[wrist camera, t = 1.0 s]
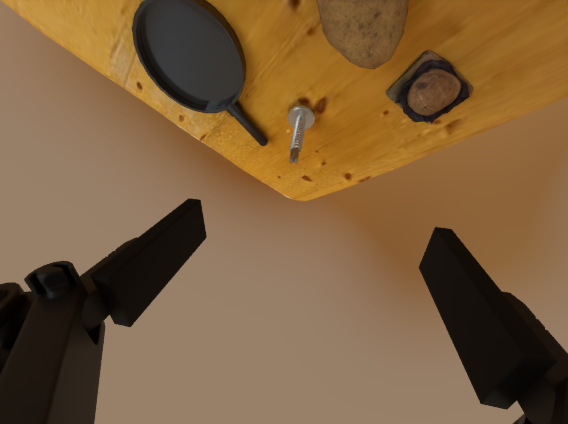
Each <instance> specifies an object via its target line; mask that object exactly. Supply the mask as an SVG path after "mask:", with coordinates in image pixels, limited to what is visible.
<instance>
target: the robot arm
mask: <svg viewBox="0 0 568 424" xmlns="http://www.w3.org/2000/svg"><path fill="white" fill-rule="evenodd" d="M205 239H206V231H205V224H204V219H203V213H202V206H201V200H197V199H188V200H186V201H185V202H184V203H183V204H181V205H180V206H179V207H177V208H176V209H175V210H173V211H172V212H171V213H169V214H168V215H167V216H166V217H164V218H163V219H162V220H160V221H159V222H158V223H157V224H155V225H154V226H153V227H151V228H150V229H149V230H147V231H146V232H145V233H144V234H142V235H141V236H140V237H138V238H134V239H132V240H130V241H127V242H125V243H124V244H123V245H121V246H120V247H118V248H117V249H116V251H113V252H112V253H110V254H109V255H108V257H105V258H104V259H102V260H101V261H100V262H98V263H97V264H96V265H95V266H93V267H92V268H90V269H89V270H88V271H87V272H85V273H84V274H82V275H81V276H80V277H79V275H78V273H77V271H76V269H75V268H74V266H73V264H72V263H71V262H69V261H59V262H53V263H50V264H47V265H44V266H42V267H40V268H38V269H36V270H34V271H33V272H31V273H30V274H28V276H27V277H26V278H25V279H24V280H25V282H26V283H27V285H28V286H29V288H30V289H31V292H24V291H23V289H22V288H21V287H20V285H19V284H17V283H4V284H0V424H94V420H95V412H96V403H97V394H98V385H99V377H100V369H101V360H102V351H103V343H104V333H105V323H104V320H105V319H106V318H107V316H108V315H110V316H111V318H112V320H113V322H114V324H118V325H123V326H127V327H131V326H132V325H133V323H134V322H135V321H136V320H137V319H138V318H139V316H140V315H141V314H142V313H143V312H144V311H145V309H146V308H147V307H148V306H149V305H150V303H151V302H152V301H153V300H154V299H155V298H156V296H157V295H158V294H159V293H160V292H161V290H162V289H163V288H164V287H165V286H166V285H167V283H168V282H169V281H170V280H171V278H173V276H174V275H175V274H176V273H177V272H178V270H179V269H180V268H181V267H182V266H183V265H184V263H185V262H186V261H187V260H188V259H189V257H190V256H191V255H192V254H193V253H194V252H195V250H196V249H197V248H198V247H199V246H200V244H201V243H202V242H203V241H204V240H205ZM419 269H420V271H421V274H422V275H423V278H424V280H425V282H426V285H427V287H428V289H429V291H430V293H431V295H432V298H433V300H434V302H435V304H436V307H437V309H438V311H439V313H440V315H441V317H442V320H443V322H444V324H445V326H446V329H447V331H448V333H449V335H450V337H451V339H452V342H453V344H454V346H455V348H456V350H457V352H458V355H459V357H460V359H461V361H462V364H463V366H464V368H465V370H466V372H467V375H468V377H469V379H470V381H471V383H472V385H473V388H474V390H475V392H476V394H477V397H478V399H479V401H480V403H481V404H484V405H489V406H493V407H498V408H502V409H508V408H509V407H510V406H511V405H512V404H513V403H514V402H516V401H518V403H519V405H520V406H521V408H522V410H523V411H524V414H523V415H522V416H521V417H520V418H519V419H518V420H516V421H515V422H514V423H513V424H568V353H567V352H566V351H565V350H564V349H563V348H562V347H561V345H560V344H559V343H558V342H557V341H556V340H555V339H554V337H553V336H552V335H551V334H550V333H549V332H548V330H545V327H544V326H543V325H542V323H541V322H540V321H539V320H538V319H536V317H535V315H534V314H533V313H532V312H531V311H530V309H529V308H528V307H527V306H526V305H525V304H524V303H523V302H521V301H520V300H519V299H517V298H516V297H515V296H513V295H512V294H511V293H508V292H501V290H500V289H499V288H498V287H497V285H496V284H495V283H494V282H493V280H492V279H491V278H490V277H489V275H488V274H487V273H486V272H485V270H484V269H483V268H482V267H481V265H480V264H479V263H478V262H477V260H476V259H475V258H474V257H473V256H472V254H471V253H470V252H469V251H468V249H467V248H466V247H465V246H464V244H463V243H462V242H461V241H460V239H459V238H458V237H457V236H456V234H455V233H454V232H453V231H452V229H447V228H438V227H435V229H434V231H433V234H432V236H431V239H430V241H429V244H428V246H427V249H426V251H425V253H424V256H423V258H422V261H421V263H420V266H419Z"/></svg>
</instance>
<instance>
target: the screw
mask: <svg viewBox="0 0 568 424" xmlns="http://www.w3.org/2000/svg"><path fill="white" fill-rule="evenodd" d="M314 120H315V115H314V113H313V111H312V110H311V109H310V108H309V107H307V106H303V105H298V106H295V107H293V108H292V109H291V110H290V111H289V114H288V121H289V123H290V125H291V126H292V127H294V130H293V136H292V141H291V146H290V152H291V154H290V159H289V161H290V162H291V163H296V162H297V161H298V156H299V152H300V151H301V148H302V141H303V136H304V130H305V129H308V128H310V127H311V126H312V125H313V123H314Z"/></svg>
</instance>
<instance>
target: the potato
mask: <svg viewBox="0 0 568 424" xmlns="http://www.w3.org/2000/svg"><path fill="white" fill-rule="evenodd" d="M317 4H318V9H319V13H320V18H321V24H322V30H323V32H324V34H325V36H326V38H327V40H328V42H329V43H330V44H331V45H332V46H333V47H334V48H335V49H336V50H337V51H339V52H340V53H341V54H342V55H343V56H344V57H345V58H346V59H347V60H349V61H350V62H352V63H354V64H355V65H357V66H359V67H362V68H370V69H375V68H377V67H379V66H380V65H382V64H384V63H385V62H387V61H389V60H390V59H391V57H392V55H393V53H394V51H395V49H396V47H397V45H398V43H399V41H400V39H401V37H402V35H403V32H404V27H405V22H406V17H407V13H408V0H317Z"/></svg>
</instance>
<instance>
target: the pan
mask: <svg viewBox="0 0 568 424" xmlns="http://www.w3.org/2000/svg"><path fill="white" fill-rule="evenodd" d="M132 32H133V40H134V46H135V49H136V51H137V54H138V57H139V60H140V62H141V63H142V65H143V67H144V69H145V70H146V72H147V74H148V75H149V76H150V78H151V79H152V80H153V81H154V83H155V84H156V85H157V86H158V87H159V88H160V89H161V90H162V91H163V92H164V93H165V94H166V95H167V96H169V97H170V98H171V99H173V100H174V101H176V102H177V103H179V104H180V105H182V106H184V107H187V108H189V109H191V110H194V111H198V112H202V113H218V112H221V111H224V110H226V108H227V106H226V107H225V105H226V104H228V102H230V101H231V100H232V99H233V100H232V102H231V103H232V104H231V103H230V104H231V105H233V104H235V102H236V101H237V99H238V98H239V96H240V94H241V92H242V90H243V86H244V83H245V79H246V63H245V57H244V53H243V50H242V47H241V44H240V42H239V40H238V38H237V36H236V34H235V32H234V30H233V29H232V27H231V26H230V24H229V23H228V22H227V20H226V19H225V18H224V17H223V16H222V15H221V14H220V13H219V12H218V11H217V9H215V8H214V7H213V6H212V5H211V4H209V3H208V2H207V1H205V0H144V1H143V2H142V3H141V4H140V6H139V7H138V9H137V11H136V12H135V14H134V20H133V26H132ZM230 104H229V105H230Z"/></svg>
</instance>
